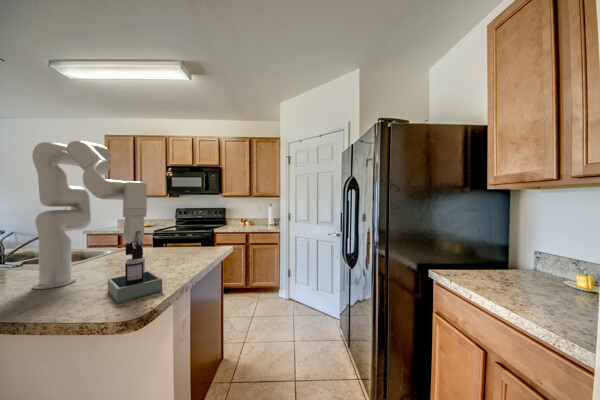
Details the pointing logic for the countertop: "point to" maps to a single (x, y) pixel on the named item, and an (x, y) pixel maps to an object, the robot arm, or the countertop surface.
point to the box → (134, 287)
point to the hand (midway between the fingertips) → (133, 256)
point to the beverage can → (133, 272)
